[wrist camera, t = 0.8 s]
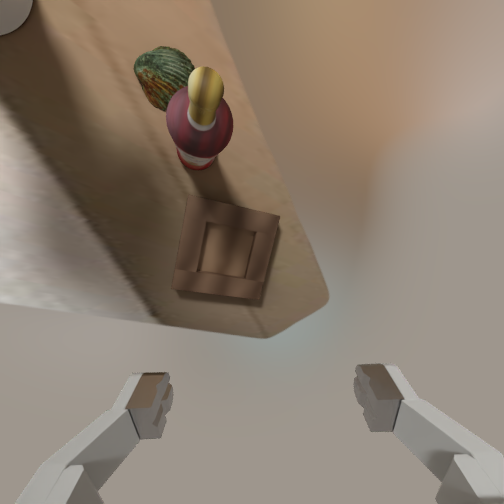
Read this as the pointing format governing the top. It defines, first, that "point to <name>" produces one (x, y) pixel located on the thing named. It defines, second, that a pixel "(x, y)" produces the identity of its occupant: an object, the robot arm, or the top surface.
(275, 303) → the top surface
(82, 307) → the top surface
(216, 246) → the plinth
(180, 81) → the seashell
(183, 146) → the liquor
